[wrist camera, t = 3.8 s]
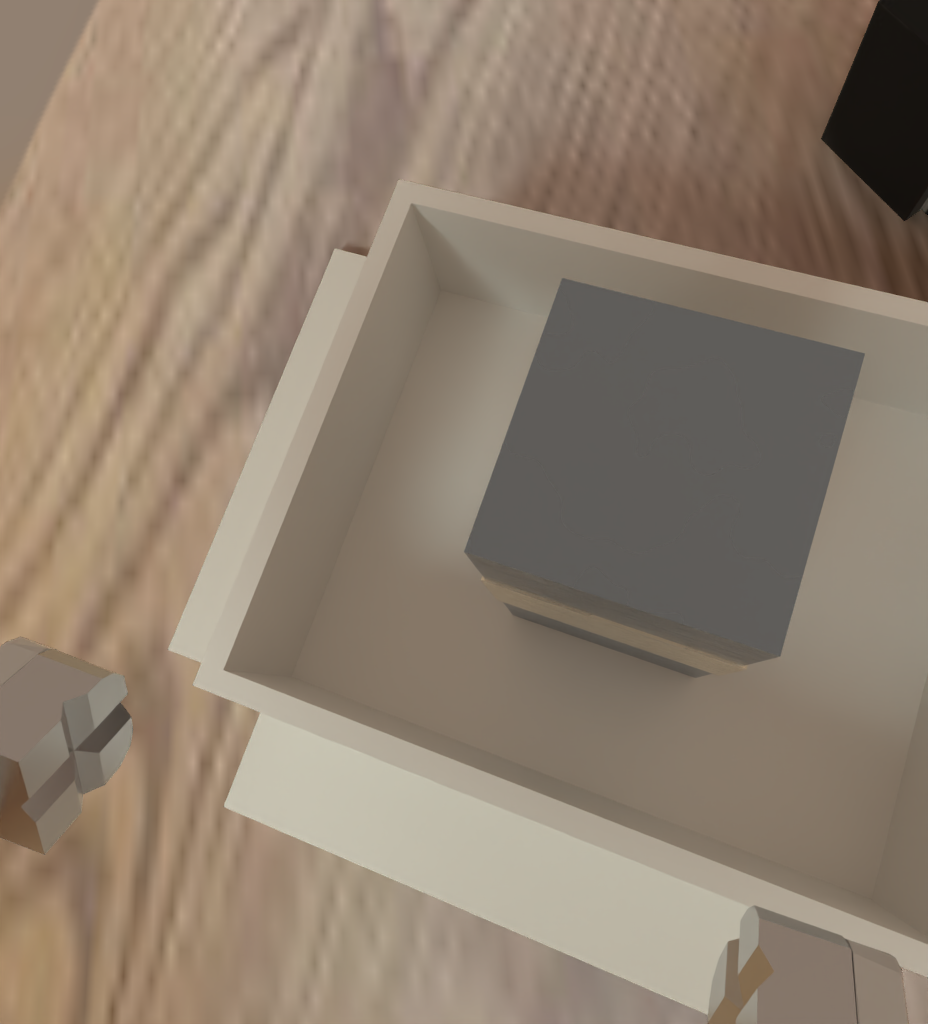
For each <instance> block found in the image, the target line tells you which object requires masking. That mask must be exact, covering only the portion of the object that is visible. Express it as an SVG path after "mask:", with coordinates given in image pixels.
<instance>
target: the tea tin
mask: <svg viewBox="0 0 928 1024" xmlns="http://www.w3.org/2000/svg"><path fill="white" fill-rule="evenodd" d="M864 356H865V353H861V352H857V351H853V350H849V349H845V348H841V347H837V346H833V345H829V344H825V343H821V342H817V341H813V340H809V339H805V338H801V337H797V336H793V335H789V334H785V333H781V332H777V331H773V330H769V329H765V328H761V327H757V326H753V325H749V324H745V323H741V322H737V321H733V320H729V319H725V318H721V317H717V316H713V315H709V314H705V313H701V312H697V311H693V310H689V309H685V308H681V307H677V306H673V305H669V304H665V303H661V302H657V301H653V300H649V299H645V298H641V297H637V296H633V295H629V294H625V293H621V292H617V291H613V290H609V289H605V288H601V287H597V286H593V285H589V284H585V283H581V282H577V281H572V280H568V279H564V278H562V280H561V283H560V285H559V288H558V291H557V294H556V297H555V299H554V302H553V305H552V308H551V310H550V313H549V316H548V319H547V322H546V324H545V327H544V330H543V333H542V336H541V338H540V341H539V344H538V347H537V350H536V352H535V355H534V358H533V361H532V363H531V366H530V369H529V372H528V375H527V377H526V380H525V383H524V386H523V389H522V391H521V394H520V397H519V400H518V402H517V405H516V408H515V411H514V414H513V416H512V419H511V422H510V425H509V428H508V430H507V433H506V436H505V439H504V442H503V444H502V447H501V450H500V453H499V455H498V458H497V461H496V464H495V467H494V469H493V472H492V475H491V478H490V481H489V483H488V486H487V489H486V492H485V495H484V497H483V500H482V503H481V506H480V508H479V511H478V514H477V517H476V520H475V522H474V525H473V528H472V531H471V534H470V536H469V539H468V542H467V545H466V547H465V550H464V553H465V554H466V555H467V556H468V558H469V559H470V560H471V562H472V563H473V564H474V565H475V567H476V568H477V569H478V571H479V572H480V573H481V575H482V578H481V581H482V582H483V583H484V585H485V586H486V587H487V588H488V590H489V591H490V592H491V593H492V594H493V596H494V597H495V598H496V599H497V600H498V601H501V602H503V603H504V604H505V605H506V607H507V608H508V609H509V611H510V612H511V613H512V615H514V616H517V617H519V618H522V619H525V620H528V621H531V622H534V623H537V624H540V625H543V626H546V627H548V628H551V629H554V630H557V631H560V632H563V633H566V634H569V635H572V636H575V637H578V638H580V639H583V640H586V641H589V642H592V643H595V644H598V645H601V646H604V647H607V648H609V649H612V650H615V651H618V652H621V653H624V654H627V655H630V656H633V657H636V658H639V659H641V660H644V661H647V662H650V663H653V664H656V665H659V666H662V667H665V668H668V669H671V670H673V671H676V672H679V673H682V674H685V675H688V676H691V677H694V678H697V677H701V676H705V675H709V674H715V675H718V676H721V675H725V674H730V673H734V672H738V671H743V670H747V666H748V665H749V664H753V663H757V662H761V661H765V660H769V659H773V658H777V657H780V656H781V652H782V648H783V645H784V641H785V638H786V634H787V631H788V627H789V623H790V620H791V616H792V613H793V609H794V606H795V602H796V599H797V595H798V591H799V588H800V584H801V581H802V577H803V574H804V570H805V566H806V563H807V559H808V556H809V552H810V549H811V545H812V541H813V538H814V534H815V531H816V527H817V524H818V520H819V516H820V513H821V509H822V506H823V502H824V499H825V495H826V492H827V488H828V484H829V481H830V477H831V474H832V470H833V467H834V463H835V459H836V456H837V452H838V449H839V445H840V442H841V438H842V434H843V431H844V427H845V424H846V420H847V417H848V413H849V410H850V406H851V402H852V399H853V395H854V392H855V388H856V385H857V381H858V377H859V374H860V370H861V367H862V363H863V360H864Z"/></svg>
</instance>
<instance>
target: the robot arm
mask: <svg viewBox="0 0 928 1024" xmlns="http://www.w3.org/2000/svg"><path fill="white" fill-rule="evenodd" d="M127 694H128V692H127V687H126V683H125V678H124V676H123V675H120V674H117V673H115V672H112V671H110V670H107V669H104V668H102V667H99V666H97V665H94V664H91V663H89V662H86V661H84V660H81V659H78V658H76V657H73V656H71V655H68V654H65V653H63V652H60V651H57V650H56V649H53V648H51V647H48V646H45V645H42V644H40V643H37V642H34V641H31V640H29V639H26V638H23V637H18V638H16V639H13V640H10V641H7V642H5V643H4V644H3V645H1V646H0V838H2V839H5V840H8V841H10V842H13V843H15V844H18V845H20V846H23V847H26V848H28V849H31V850H33V851H36V852H39V853H41V854H44V855H45V854H46V853H47V852H48V850H49V849H50V848H51V847H52V846H53V845H54V843H55V842H56V841H57V840H58V839H59V838H60V836H61V835H62V834H63V833H64V832H65V831H66V830H67V828H68V827H69V826H70V825H71V824H72V823H73V821H74V820H75V819H76V818H77V817H78V816H79V815H80V813H81V812H82V801H83V794H85V793H87V792H90V791H92V790H94V789H96V788H99V787H101V786H103V785H105V784H106V783H107V782H108V781H109V779H110V778H111V777H112V776H113V775H114V773H115V772H116V771H117V770H118V768H119V767H120V766H121V764H122V762H123V759H124V757H125V755H126V753H127V751H128V749H129V747H130V745H131V739H132V733H133V726H132V718H131V716H130V715H129V713H128V712H127V711H126V709H125V708H124V707H123V705H122V704H121V703H120V702H121V701H122V700H123V698H124V697H125V696H126V695H127ZM707 1024H909V1021H908V1014H907V1006H906V999H905V991H904V984H903V977H902V969H901V967H900V965H899V963H898V961H897V959H896V958H895V957H894V956H892V955H891V954H889V953H886V952H883V951H880V950H877V949H874V948H871V947H868V946H865V945H862V944H859V943H857V942H854V941H851V940H848V939H845V938H844V937H843V936H842V935H839V934H836V933H833V932H830V931H827V930H824V929H822V928H819V927H816V926H813V925H810V924H807V923H804V922H801V921H799V920H796V919H793V918H790V917H787V916H784V915H781V914H778V913H776V912H773V911H770V910H767V909H764V908H761V907H758V906H755V905H754V906H752V907H750V908H748V909H747V911H746V912H745V914H744V915H743V917H742V919H741V920H740V937H739V938H738V939H735V940H731V941H728V942H727V944H726V946H725V948H724V950H723V951H722V953H721V955H720V957H719V960H718V963H717V967H716V970H715V973H714V977H713V980H712V986H711V993H710V999H709V1010H708V1023H707Z"/></svg>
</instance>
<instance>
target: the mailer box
mask: <svg viewBox="0 0 928 1024" xmlns="http://www.w3.org/2000/svg"><path fill="white" fill-rule="evenodd" d="M562 278H564V279H568V280H572V281H577V282H581V283H585V284H589V285H593V286H597V287H601V288H605V289H609V290H613V291H617V292H621V293H625V294H629V295H633V296H637V297H641V298H645V299H649V300H653V301H657V302H661V303H665V304H669V305H673V306H677V307H681V308H685V309H689V310H693V311H697V312H701V313H705V314H709V315H713V316H717V317H721V318H725V319H729V320H733V321H737V322H741V323H745V324H749V325H753V326H757V327H761V328H765V329H769V330H773V331H777V332H781V333H785V334H789V335H793V336H797V337H801V338H805V339H809V340H813V341H817V342H821V343H825V344H829V345H833V346H837V347H841V348H845V349H849V350H853V351H857V352H861V353H865V356H864V360H863V363H862V367H861V370H860V374H859V377H858V381H857V385H856V388H855V392H854V395H853V399H852V402H851V406H850V410H849V413H848V417H847V420H846V424H845V427H844V431H843V434H842V438H841V442H840V445H839V449H838V452H837V456H836V459H835V463H834V467H833V470H832V474H831V477H830V481H829V484H828V488H827V492H826V495H825V499H824V502H823V506H822V509H821V513H820V516H819V520H818V524H817V527H816V531H815V534H814V538H813V541H812V545H811V549H810V552H809V556H808V559H807V563H806V566H805V570H804V574H803V577H802V581H801V584H800V588H799V591H798V595H797V599H796V602H795V606H794V609H793V613H792V616H791V620H790V623H789V627H788V631H787V634H786V638H785V641H784V645H783V648H782V652H781V656H780V657H777V658H773V659H769V660H765V661H761V662H757V663H753V664H749V665H748V666H747V670H743V671H738V672H734V673H730V674H725V675H721V676H718V675H715V674H709V675H705V676H701V677H697V678H694V677H691V676H688V675H685V674H682V673H679V672H676V671H673V670H671V669H668V668H665V667H662V666H659V665H656V664H653V663H650V662H647V661H644V660H641V659H639V658H636V657H633V656H630V655H627V654H624V653H621V652H618V651H615V650H612V649H609V648H607V647H604V646H601V645H598V644H595V643H592V642H589V641H586V640H583V639H580V638H578V637H575V636H572V635H569V634H566V633H563V632H560V631H557V630H554V629H551V628H548V627H546V626H543V625H540V624H537V623H534V622H531V621H528V620H525V619H522V618H519V617H517V616H514V615H512V613H511V612H510V611H509V609H508V608H507V607H506V605H505V604H504V603H503V602H501V601H498V600H497V599H496V598H495V597H494V596H493V594H492V593H491V592H490V591H489V590H488V588H487V587H486V586H485V585H484V583H483V582H482V581H481V578H482V575H481V573H480V572H479V571H478V569H477V568H476V567H475V565H474V564H473V563H472V562H471V560H470V559H469V558H468V556H467V555H466V554H465V553H464V550H465V547H466V545H467V542H468V539H469V536H470V534H471V531H472V528H473V525H474V522H475V520H476V517H477V514H478V511H479V508H480V506H481V503H482V500H483V497H484V495H485V492H486V489H487V486H488V483H489V481H490V478H491V475H492V472H493V469H494V467H495V464H496V461H497V458H498V455H499V453H500V450H501V447H502V444H503V442H504V439H505V436H506V433H507V430H508V428H509V425H510V422H511V419H512V416H513V414H514V411H515V408H516V405H517V402H518V400H519V397H520V394H521V391H522V389H523V386H524V383H525V380H526V377H527V375H528V372H529V369H530V366H531V363H532V361H533V358H534V355H535V352H536V350H537V347H538V344H539V341H540V338H541V336H542V333H543V330H544V327H545V324H546V322H547V319H548V316H549V313H550V310H551V308H552V305H553V302H554V299H555V297H556V294H557V291H558V288H559V285H560V283H561V280H562ZM168 650H170V651H172V652H175V653H177V654H180V655H182V656H185V657H187V658H190V659H193V660H195V661H198V662H200V663H201V665H200V668H199V670H198V673H197V675H196V677H195V680H194V682H193V686H195V687H198V688H200V689H203V690H205V691H208V692H210V693H213V694H215V695H218V696H220V697H223V698H225V699H228V700H230V701H233V702H236V703H238V704H241V705H243V706H246V707H248V708H251V709H253V710H256V711H258V712H260V715H259V717H258V720H257V722H256V725H255V727H254V730H253V733H252V735H251V738H250V740H249V743H248V745H247V748H246V750H245V753H244V756H243V758H242V761H241V763H240V766H239V768H238V771H237V773H236V776H235V779H234V781H233V784H232V786H231V789H230V791H229V794H228V797H227V799H226V802H225V804H224V807H225V808H227V809H230V810H232V811H234V812H237V813H239V814H241V815H244V816H246V817H248V818H251V819H253V820H255V821H258V822H260V823H262V824H265V825H267V826H269V827H271V828H274V829H276V830H278V831H281V832H283V833H285V834H288V835H290V836H292V837H295V838H297V839H299V840H302V841H304V842H306V843H309V844H311V845H313V846H316V847H318V848H320V849H323V850H325V851H327V852H330V853H332V854H334V855H337V856H339V857H341V858H344V859H346V860H348V861H351V862H353V863H355V864H358V865H360V866H362V867H365V868H367V869H369V870H372V871H374V872H376V873H378V874H381V875H383V876H385V877H388V878H390V879H392V880H395V881H397V882H399V883H402V884H404V885H406V886H409V887H411V888H413V889H416V890H418V891H420V892H423V893H425V894H427V895H430V896H432V897H434V898H437V899H439V900H441V901H444V902H446V903H448V904H451V905H453V906H455V907H458V908H460V909H462V910H465V911H467V912H469V913H472V914H474V915H476V916H479V917H481V918H483V919H486V920H488V921H490V922H492V923H495V924H497V925H499V926H502V927H504V928H506V929H509V930H511V931H513V932H516V933H518V934H520V935H523V936H525V937H527V938H530V939H532V940H534V941H537V942H539V943H541V944H544V945H546V946H548V947H551V948H553V949H555V950H558V951H560V952H562V953H565V954H567V955H569V956H572V957H574V958H576V959H579V960H581V961H583V962H586V963H588V964H590V965H593V966H595V967H597V968H599V969H602V970H604V971H606V972H609V973H611V974H613V975H616V976H618V977H620V978H623V979H625V980H627V981H630V982H632V983H634V984H637V985H639V986H641V987H644V988H646V989H648V990H651V991H653V992H655V993H658V994H660V995H662V996H665V997H667V998H669V999H672V1000H674V1001H676V1002H679V1003H681V1004H683V1005H686V1006H688V1007H690V1008H693V1009H695V1010H697V1011H700V1012H702V1013H704V1014H707V1015H708V1010H709V999H710V993H711V986H712V980H713V977H714V973H715V970H716V967H717V963H718V960H719V957H720V955H721V953H722V951H723V950H724V948H725V946H726V944H727V942H728V941H731V940H735V939H738V938H739V937H740V920H741V919H742V917H743V915H744V914H745V912H746V911H747V909H748V908H750V907H752V906H754V905H755V906H758V907H761V908H764V909H767V910H770V911H773V912H776V913H778V914H781V915H784V916H787V917H790V918H793V919H796V920H799V921H801V922H804V923H807V924H810V925H813V926H816V927H819V928H822V929H824V930H827V931H830V932H833V933H836V934H839V935H842V936H843V937H844V938H845V939H848V940H851V941H854V942H857V943H859V944H862V945H865V946H868V947H871V948H874V949H877V950H880V951H883V952H886V953H889V954H891V955H892V956H894V957H895V958H896V959H897V961H898V963H899V965H900V967H902V968H904V969H907V970H909V971H912V972H914V973H917V974H919V975H922V976H924V977H927V978H928V302H924V301H920V300H916V299H912V298H907V297H903V296H899V295H894V294H890V293H886V292H882V291H877V290H873V289H869V288H864V287H860V286H856V285H852V284H847V283H843V282H839V281H834V280H830V279H826V278H822V277H817V276H813V275H809V274H804V273H800V272H796V271H791V270H787V269H783V268H779V267H774V266H770V265H766V264H761V263H757V262H753V261H749V260H744V259H740V258H736V257H731V256H727V255H723V254H719V253H714V252H710V251H706V250H701V249H697V248H693V247H688V246H684V245H680V244H676V243H671V242H667V241H663V240H658V239H654V238H650V237H646V236H641V235H637V234H633V233H628V232H624V231H620V230H616V229H611V228H607V227H603V226H598V225H594V224H590V223H586V222H581V221H577V220H573V219H568V218H564V217H560V216H555V215H551V214H547V213H543V212H538V211H534V210H530V209H525V208H521V207H517V206H513V205H508V204H504V203H500V202H495V201H491V200H487V199H483V198H478V197H474V196H470V195H465V194H461V193H457V192H452V191H448V190H444V189H440V188H435V187H431V186H427V185H422V184H418V183H414V182H410V181H405V180H401V179H399V180H398V182H397V185H396V187H395V189H394V192H393V194H392V197H391V199H390V202H389V204H388V207H387V209H386V212H385V214H384V216H383V219H382V221H381V224H380V226H379V229H378V231H377V234H376V236H375V239H374V241H373V243H372V246H371V248H370V251H369V253H368V256H367V257H366V256H363V255H359V254H355V253H351V252H347V251H343V250H339V249H334V252H333V254H332V256H331V259H330V261H329V264H328V266H327V268H326V271H325V273H324V276H323V278H322V280H321V283H320V285H319V288H318V290H317V292H316V295H315V297H314V300H313V302H312V304H311V307H310V309H309V312H308V314H307V316H306V319H305V321H304V324H303V326H302V329H301V331H300V333H299V336H298V338H297V341H296V343H295V345H294V348H293V350H292V353H291V355H290V357H289V360H288V362H287V365H286V367H285V369H284V372H283V374H282V377H281V379H280V381H279V384H278V386H277V389H276V391H275V393H274V396H273V398H272V401H271V403H270V405H269V408H268V410H267V413H266V415H265V417H264V420H263V422H262V425H261V427H260V429H259V432H258V434H257V437H256V439H255V441H254V444H253V446H252V449H251V451H250V453H249V456H248V458H247V461H246V463H245V465H244V468H243V470H242V473H241V475H240V477H239V480H238V482H237V485H236V487H235V489H234V492H233V494H232V497H231V499H230V501H229V504H228V506H227V509H226V511H225V513H224V516H223V518H222V521H221V523H220V525H219V528H218V530H217V533H216V535H215V537H214V540H213V542H212V545H211V547H210V549H209V552H208V554H207V557H206V559H205V561H204V564H203V566H202V569H201V571H200V573H199V576H198V578H197V581H196V583H195V585H194V588H193V590H192V593H191V595H190V597H189V600H188V602H187V605H186V607H185V609H184V612H183V614H182V617H181V619H180V621H179V624H178V626H177V629H176V631H175V633H174V636H173V638H172V641H171V643H170V645H169V648H168Z"/></svg>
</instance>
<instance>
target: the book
mask: <svg viewBox="0 0 928 1024" xmlns="http://www.w3.org/2000/svg"><path fill="white" fill-rule="evenodd" d="M821 139H822V140H823V141H824V142H825V143H826V144H827V145H828V146H829V147H830V148H831V149H832V150H833V151H834V152H835V153H836V154H837V155H838V156H839V157H840V158H841V159H842V160H843V161H844V162H845V163H846V164H847V165H848V166H849V167H850V168H851V169H852V170H853V171H854V172H855V173H856V174H857V175H858V176H859V177H860V178H861V179H862V180H863V181H864V182H865V183H866V184H867V185H868V186H869V187H870V188H871V189H872V190H873V191H874V192H875V193H876V194H877V195H878V196H879V197H880V198H881V199H882V200H883V201H884V202H885V203H886V204H887V205H888V206H889V207H890V208H891V209H892V210H893V211H895V212H896V213H897V214H898V215H899V216H900V217H901V218H902V219H903V220H904V221H905V220H907V219H908V218H910V217H911V216H913V215H914V214H915V213H917V212H918V211H920V210H921V209H922V210H923V211H924V212H925V213H926V214H927V215H928V0H880V1H879V2H878V4H877V6H876V9H875V11H874V13H873V16H872V18H871V21H870V23H869V25H868V28H867V30H866V33H865V35H864V37H863V40H862V42H861V45H860V47H859V49H858V52H857V54H856V57H855V59H854V61H853V64H852V66H851V69H850V71H849V73H848V76H847V78H846V81H845V83H844V85H843V88H842V90H841V93H840V95H839V97H838V100H837V102H836V105H835V107H834V109H833V112H832V114H831V117H830V119H829V121H828V124H827V126H826V129H825V131H824V133H823V136H822V138H821Z"/></svg>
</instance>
